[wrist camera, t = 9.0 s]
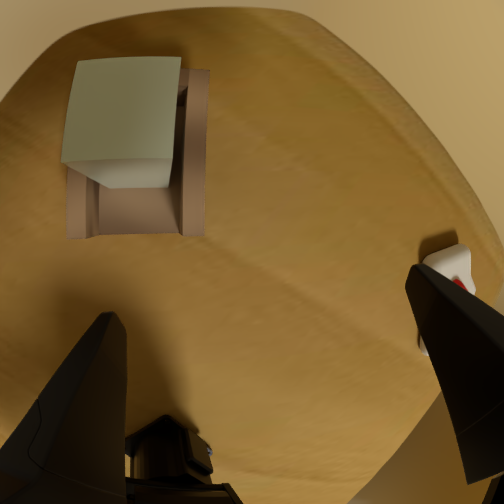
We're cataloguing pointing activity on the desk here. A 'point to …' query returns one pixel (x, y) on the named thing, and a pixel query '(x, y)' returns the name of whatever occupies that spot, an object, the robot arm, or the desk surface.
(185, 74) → the wooden channel cradle
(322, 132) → the desk surface
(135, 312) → the desk surface
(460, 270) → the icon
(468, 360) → the robot arm
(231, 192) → the desk surface
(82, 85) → the clay bar
